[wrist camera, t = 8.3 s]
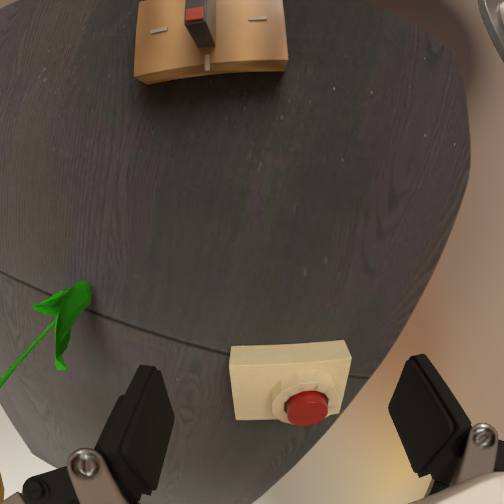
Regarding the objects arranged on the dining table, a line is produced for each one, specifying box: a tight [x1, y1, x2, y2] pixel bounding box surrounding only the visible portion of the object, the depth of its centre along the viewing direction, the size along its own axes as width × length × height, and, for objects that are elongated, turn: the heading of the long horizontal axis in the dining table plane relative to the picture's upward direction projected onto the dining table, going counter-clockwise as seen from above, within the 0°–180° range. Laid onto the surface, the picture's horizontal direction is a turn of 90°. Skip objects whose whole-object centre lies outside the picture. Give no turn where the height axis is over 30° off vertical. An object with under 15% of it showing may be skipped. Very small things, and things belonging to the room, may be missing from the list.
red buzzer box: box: [229, 340, 352, 424], centre depth 27 cm, size 12×9×5 cm
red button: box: [286, 390, 328, 426], centre depth 24 cm, size 4×4×2 cm
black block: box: [184, 0, 216, 48], centre depth 14 cm, size 5×1×5 cm, turn 2°
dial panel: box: [134, 0, 288, 85], centre depth 17 cm, size 12×9×3 cm
